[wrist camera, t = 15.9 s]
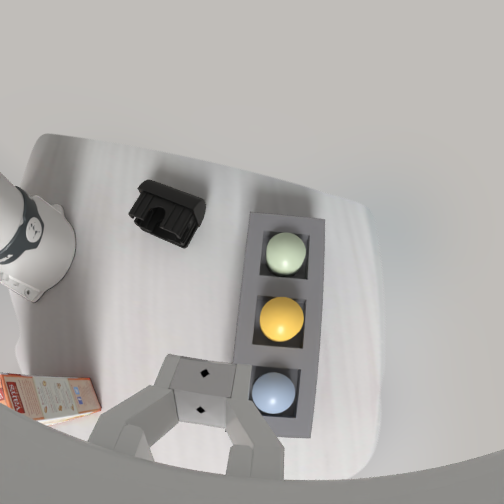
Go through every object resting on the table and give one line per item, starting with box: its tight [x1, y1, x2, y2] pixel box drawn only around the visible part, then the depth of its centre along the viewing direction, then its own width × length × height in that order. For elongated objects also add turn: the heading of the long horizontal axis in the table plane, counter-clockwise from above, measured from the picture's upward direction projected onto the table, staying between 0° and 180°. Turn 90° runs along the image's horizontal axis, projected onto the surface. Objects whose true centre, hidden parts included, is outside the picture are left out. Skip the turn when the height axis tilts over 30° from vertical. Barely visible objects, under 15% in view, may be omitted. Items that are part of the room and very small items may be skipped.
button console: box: [225, 212, 325, 438], centre depth 41 cm, size 10×28×8 cm, turn 174°
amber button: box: [260, 297, 304, 342], centre depth 36 cm, size 5×5×4 cm
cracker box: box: [0, 373, 101, 426], centre depth 30 cm, size 14×6×21 cm, turn 114°
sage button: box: [266, 233, 306, 278], centre depth 41 cm, size 5×5×4 cm
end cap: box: [129, 180, 206, 248], centre depth 48 cm, size 10×7×7 cm
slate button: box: [252, 372, 295, 414], centre depth 35 cm, size 5×5×4 cm
